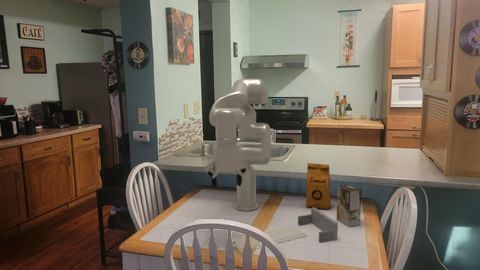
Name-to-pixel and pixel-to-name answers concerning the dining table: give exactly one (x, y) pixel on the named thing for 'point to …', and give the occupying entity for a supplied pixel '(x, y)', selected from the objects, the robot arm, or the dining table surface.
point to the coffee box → (348, 205)
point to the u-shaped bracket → (321, 224)
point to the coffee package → (318, 186)
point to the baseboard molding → (272, 236)
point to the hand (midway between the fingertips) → (226, 186)
